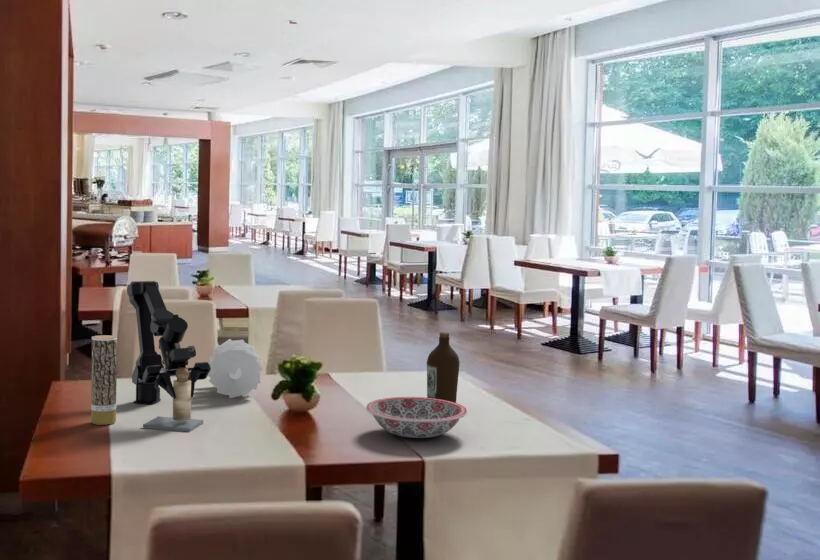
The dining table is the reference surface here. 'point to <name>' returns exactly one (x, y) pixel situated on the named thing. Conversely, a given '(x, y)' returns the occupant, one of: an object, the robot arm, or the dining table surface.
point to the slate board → (173, 424)
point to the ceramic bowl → (416, 415)
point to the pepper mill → (182, 395)
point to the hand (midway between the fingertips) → (183, 397)
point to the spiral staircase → (234, 368)
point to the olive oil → (443, 371)
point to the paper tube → (103, 379)
